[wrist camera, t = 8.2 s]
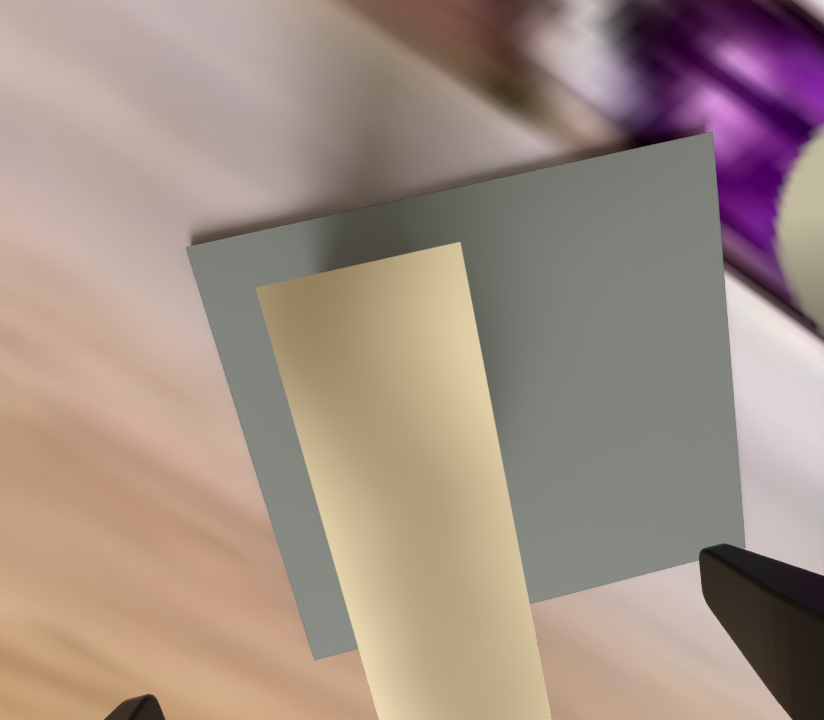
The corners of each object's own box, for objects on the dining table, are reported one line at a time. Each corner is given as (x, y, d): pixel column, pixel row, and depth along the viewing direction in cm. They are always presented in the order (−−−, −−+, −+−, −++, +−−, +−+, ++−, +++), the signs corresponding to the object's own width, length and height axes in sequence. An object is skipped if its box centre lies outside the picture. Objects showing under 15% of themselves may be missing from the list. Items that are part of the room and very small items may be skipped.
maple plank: (432, 248, 13) (460, 241, 9) (508, 617, 16) (554, 734, 12) (288, 280, 13) (255, 287, 9) (388, 648, 16) (395, 777, 12)
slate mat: (703, 135, 19) (712, 131, 18) (737, 541, 23) (745, 548, 22) (190, 247, 18) (185, 247, 17) (315, 651, 22) (314, 660, 21)
